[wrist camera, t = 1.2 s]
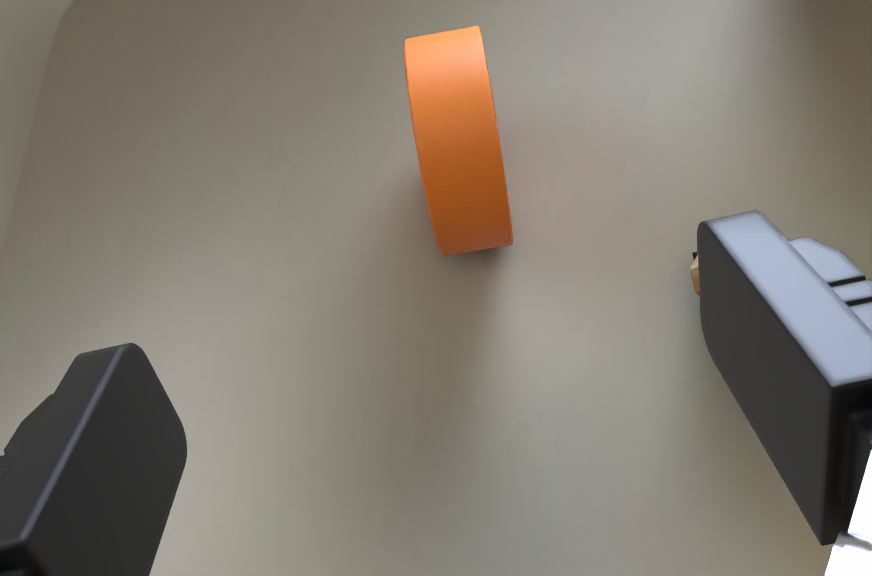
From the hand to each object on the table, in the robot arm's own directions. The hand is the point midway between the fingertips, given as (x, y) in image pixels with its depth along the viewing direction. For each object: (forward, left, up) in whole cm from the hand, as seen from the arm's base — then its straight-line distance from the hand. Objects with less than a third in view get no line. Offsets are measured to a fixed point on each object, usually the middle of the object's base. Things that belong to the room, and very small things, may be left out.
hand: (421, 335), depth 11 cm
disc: (-7, +9, -24) cm, 26 cm away
